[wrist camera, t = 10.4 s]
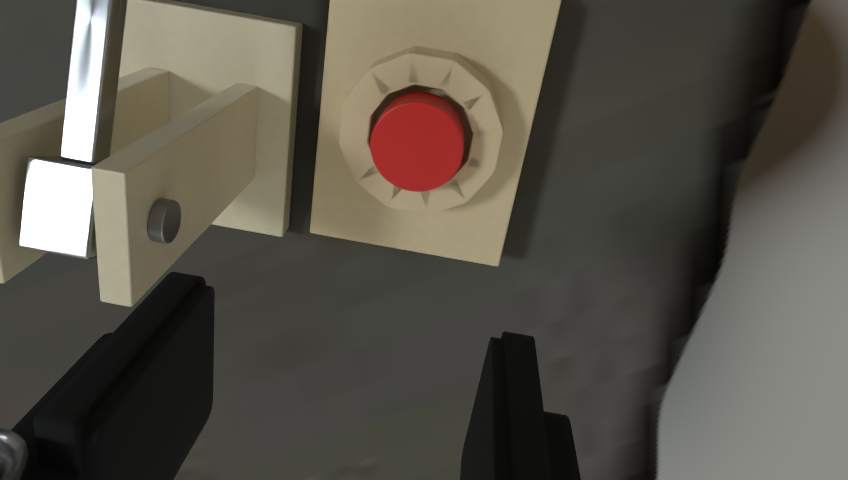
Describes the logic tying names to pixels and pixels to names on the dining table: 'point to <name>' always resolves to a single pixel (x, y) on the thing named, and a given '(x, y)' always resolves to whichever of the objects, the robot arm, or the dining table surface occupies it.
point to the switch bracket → (175, 142)
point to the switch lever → (77, 138)
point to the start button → (418, 142)
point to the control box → (451, 80)
